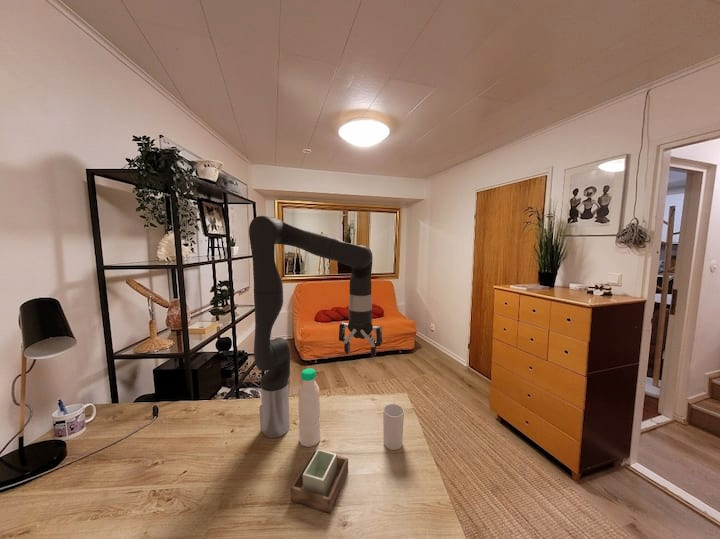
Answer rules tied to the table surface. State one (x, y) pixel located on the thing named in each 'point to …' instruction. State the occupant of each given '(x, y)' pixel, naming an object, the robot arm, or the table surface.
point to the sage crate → (320, 472)
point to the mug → (393, 426)
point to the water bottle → (309, 409)
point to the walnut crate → (318, 500)
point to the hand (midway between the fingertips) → (360, 355)
